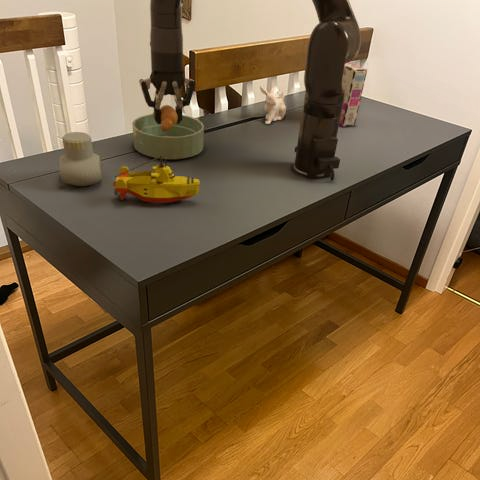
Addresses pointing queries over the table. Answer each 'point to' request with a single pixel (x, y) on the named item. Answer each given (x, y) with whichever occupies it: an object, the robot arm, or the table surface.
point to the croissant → (168, 117)
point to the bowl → (168, 138)
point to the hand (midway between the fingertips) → (168, 122)
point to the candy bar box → (352, 93)
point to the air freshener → (79, 160)
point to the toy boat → (155, 184)
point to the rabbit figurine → (274, 105)
